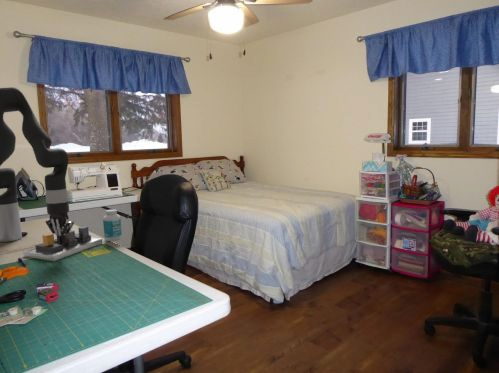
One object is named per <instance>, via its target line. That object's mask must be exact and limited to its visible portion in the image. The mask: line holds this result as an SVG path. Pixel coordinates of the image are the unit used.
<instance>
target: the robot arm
mask: <svg viewBox="0 0 499 373" xmlns="http://www.w3.org/2000/svg"><path fill="white" fill-rule="evenodd" d="M12 112H19V113H20V114H21V115H22V124H21V131H22V134H23V137H24V138H25V139H26V140H27V142H28V143H29V145H30V146H31V149H32V151H33V154H34V157H35V159H36V163H37V164H38V165H39V166H40V167H42V168H45V169H48V168H51V169H52V168H53V169H52V172H51V173H48V174H46V175H45V176H44V188H45V204H46V213H47V214H48V215H49V219H48V220H45V224H46V225H47V227H48V229H49V231H50V232H51V234H54V236H56V239H57V242H58V245H63V244H65V242H66V240H65V234H68V233H69V232H70V230H71V229H72V228H73V226H74V225H75V224H74V223H75V222H74V221H71V220H70V218H69V215H68V213H69V212H70V202H69V195H68V194H69V193H68V190H67V182H66V176H67V172H68V171H67V170H68V166H69V154H68V152H67V151H66V150H65V149H63V148H55V147H54V148H50V147H51V145H52V144H53V143H52V139H51V138H50V136H49V135H48V133H47V132H46V131H45V129H44V128H43V127H42V125H41V124H40V122H39V121H38V119H37V117H36V115H35V113H34V111H33V109H32V108H31V106H30V104H29V101H28V99H27V97H25V95H24V94H23V92H22V90H21V89H20V88H17V87H14V86H13V87H0V190H1V189H6V191H4V192H3V193H2V194H0V242H1V243H5V242H13V241H18V240H21V239H22V238H23V234H22V233H23V232H22V227H21V225H22V224H21V216H20V210H19V209H20V208H19V201H18V189H17V176H16V171H15V170H14V168H11V167H5V168H3V167H2V168H1V166H2V165H3V164H4V163H5V162H6V161H7V160H8V159H9V158H10V157H11V156H12V155H13V153H14V152H15V149H16V140H17V137H16V135H15V133H14V131H13V129H11V128H10V127H9V125H8V124H7V123H6V122H5V120H4V116H5V115H4V114H5V113H12Z"/></svg>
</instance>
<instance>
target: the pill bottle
mask: <svg viewBox="0 0 499 373" xmlns="http://www.w3.org/2000/svg"><path fill="white" fill-rule="evenodd" d="M121 219H122V218H121V216H120V214H118V210H117V209H107V210H105V215H104V216H103V218H102V223H103V224H102V225H103V235H104V236H103V237H104V240H105V241H106V242H116V241H117V242H118V241H120V240H121V239H122V237H123V235H122V234H123V231H122V220H121Z"/></svg>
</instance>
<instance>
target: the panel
mask: <svg viewBox="0 0 499 373" xmlns="http://www.w3.org/2000/svg"><path fill="white" fill-rule="evenodd" d="M65 240H66V242H65V244H63V245H58V242H57V238H54V243H55V244H52V245H48V246H46V245H43V242H42V243H39V244H36V245H35V247H32V248H30V249H27V250H23V257H24V258H31V259H38V260H44V261H50V262H56V261H59V260H61V259H64V258H66V257H70V256H73V255H74V254H75V255H76V254H78V253H81V252H83V251H85V250H88V249H90V248H94V247H96V246H99V245H101V243H102V244H103V243H104V242H103V238H98V237H93V236H92V235H91V234H89V226H81V227H78V233H76V231H75V230H70V232H69V233H68V234H65Z"/></svg>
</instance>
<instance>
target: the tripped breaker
mask: <svg viewBox="0 0 499 373" xmlns="http://www.w3.org/2000/svg"><path fill="white" fill-rule="evenodd" d="M54 240H55V234H53V233H46V234H43V235H42V243H43V245H46V246H48V245H52V244H55V243H54Z"/></svg>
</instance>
